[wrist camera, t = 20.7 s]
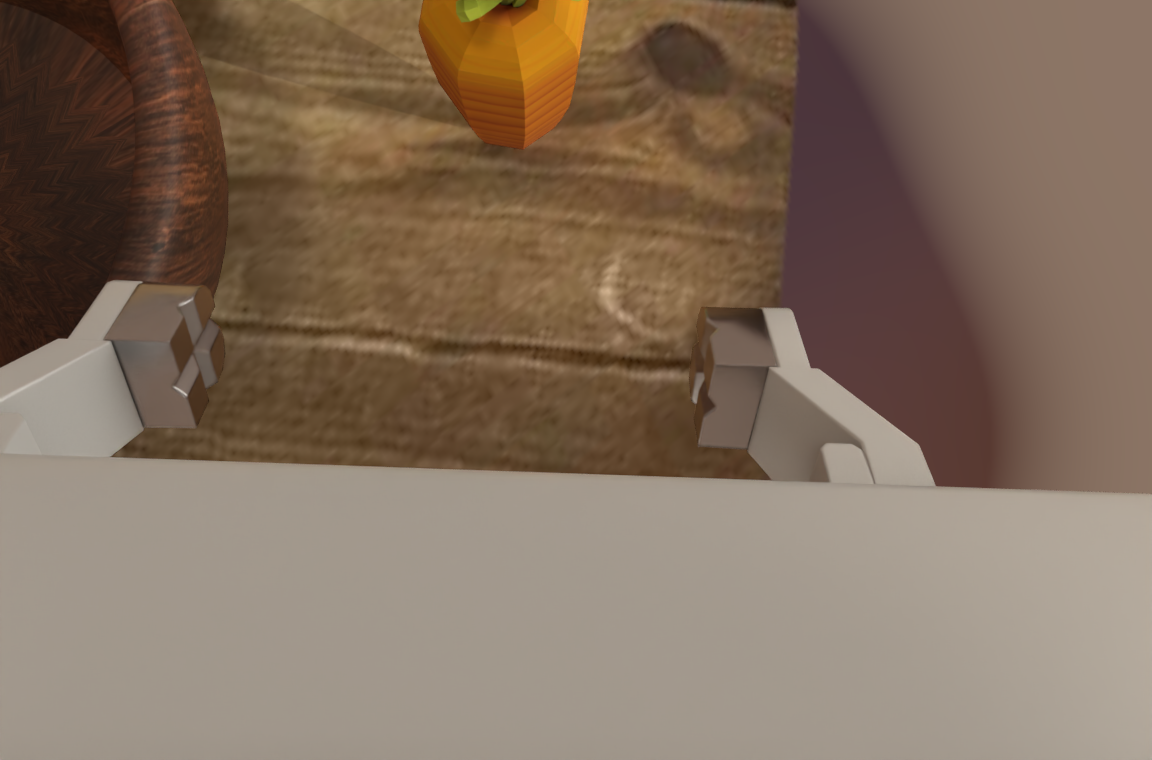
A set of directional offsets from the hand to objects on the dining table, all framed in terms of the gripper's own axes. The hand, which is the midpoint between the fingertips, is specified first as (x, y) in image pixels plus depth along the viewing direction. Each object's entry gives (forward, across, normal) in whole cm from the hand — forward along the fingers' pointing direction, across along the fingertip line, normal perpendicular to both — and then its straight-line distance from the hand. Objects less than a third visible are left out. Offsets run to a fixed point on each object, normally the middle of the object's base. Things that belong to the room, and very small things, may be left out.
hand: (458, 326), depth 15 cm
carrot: (+21, 0, +7) cm, 22 cm away
